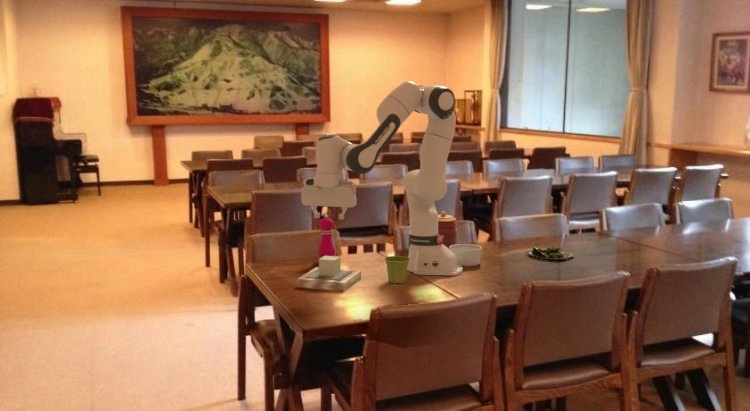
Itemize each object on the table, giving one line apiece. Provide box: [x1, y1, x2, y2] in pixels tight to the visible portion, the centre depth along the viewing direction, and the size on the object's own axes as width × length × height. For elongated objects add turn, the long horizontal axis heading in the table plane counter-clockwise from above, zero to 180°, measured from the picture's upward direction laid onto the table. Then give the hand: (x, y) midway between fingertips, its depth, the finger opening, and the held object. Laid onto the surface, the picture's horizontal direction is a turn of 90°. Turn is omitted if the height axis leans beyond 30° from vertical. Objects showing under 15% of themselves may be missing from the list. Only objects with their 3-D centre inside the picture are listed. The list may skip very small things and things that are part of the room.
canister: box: [438, 210, 459, 249], centre depth 301 cm, size 13×13×18 cm
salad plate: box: [524, 246, 574, 262], centre depth 290 cm, size 19×18×5 cm
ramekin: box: [449, 243, 483, 267], centre depth 277 cm, size 13×13×7 cm
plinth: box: [296, 266, 362, 292], centre depth 247 cm, size 18×18×3 cm
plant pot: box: [384, 255, 410, 284], centre depth 248 cm, size 9×9×9 cm
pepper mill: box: [317, 214, 336, 260], centre depth 278 cm, size 7×7×20 cm
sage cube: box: [318, 255, 341, 277], centre depth 246 cm, size 6×6×6 cm
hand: (329, 218), depth 244 cm, fingers open, 8 cm apart
